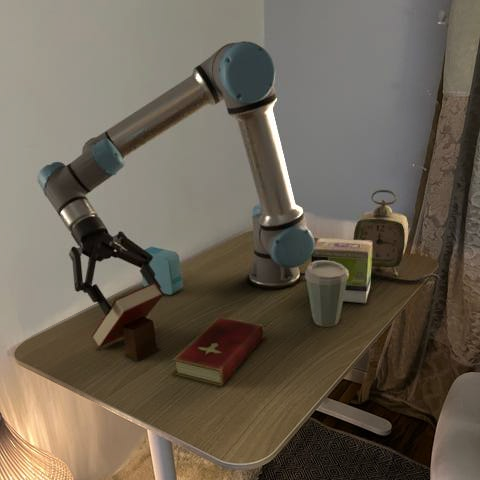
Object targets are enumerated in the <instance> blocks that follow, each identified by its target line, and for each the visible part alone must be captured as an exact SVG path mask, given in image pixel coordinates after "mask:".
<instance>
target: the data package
mask: <svg viewBox="0 0 480 480" xmlns="http://www.w3.org/2000/svg"><path fill="white" fill-rule="evenodd" d="M144 250H145V251H146V252H148V253H149V254H151V255H152V256H153V259H152V260H151V262H150V263H149V265H150V266H151V268H152V269H153V271H154V273H155V279H156V280H157V282H158V283H159V285H160V286H161V288H160V289H161V290H162V292H163V293H164V295H169V296H171V295H173V294H175V293H177V292H179V291H181V290H182V289H183V285H184V284H183V278H182V277H183V276H182V269H181V268H182V267H181V261H180V255H179V253H177V252H176V251H173V250H169V249H164V248H159V247H156V246H149V247H147V248H145V249H144ZM141 278H142V284H143V287H145V286H147V285H149V284H148V283H147V281H146V280H145V278H144V277H143V275H142V274H141Z"/></svg>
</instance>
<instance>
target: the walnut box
mask: <svg viewBox="0 0 480 480" xmlns="http://www.w3.org/2000/svg"><path fill="white" fill-rule="evenodd" d="M122 328H123V333H124V336H123V338H124V343H125V349H126V355H127V356H128V357H130V358H131V359H134V360H135V361H138V362H139V361H140V360H142V359H144V358H146V357H148V356H150V355H151V354H153V353H155V352H157V351H158V350H159V348H158V343H157V342H158V341H157V336H156V329H155V323H154V320H152V319H150V318H148V317H147V316H146V317H144V316H142V317H140V318H138V319H136V320H133V321H131V322H129V323H127V324H125V325H123V326H122Z"/></svg>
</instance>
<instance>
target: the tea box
mask: <svg viewBox="0 0 480 480" xmlns="http://www.w3.org/2000/svg"><path fill="white" fill-rule="evenodd" d="M310 257H311V259H310V261H311V262H310V263H312V262H314V261H320V260H327V261H334V262H337V263H340V264H342V265H343V266H344V267H345V268H346V269H347V270H348V273H349V277H348V279H347V283H346V288H345V294H344V299H343V302H349V303H360V304H367V301H368V300H367V299H368V296H369V293H370V290H371V281H372V276H371V273H372V266H371V264H372V241H371V240H353V239H348V238H327V237H326V238H325V237H318V239H317V240H316V242H315V247H314V251H313V253H312V255H311V256H310Z"/></svg>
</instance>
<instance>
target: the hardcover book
mask: <svg viewBox="0 0 480 480" xmlns="http://www.w3.org/2000/svg"><path fill="white" fill-rule="evenodd" d="M264 331H265V330H264V326H263V324H260V323H255V322H250V321H245V320H239V319H234V318H229V317H224V316H219V317H217V318H216V319H215V320H213V322H212V323H211V324H210V325H208V326H207V328H205V329H204V330H203V331H202V332H200V334H198V336H196V337H195V338H194V340H192V341H191V342H190V343H189V344H188V345H187V346H186V347H185V348H184V349H182V350H181V351H180V352H179V353H178V354H177V355H176V356H175V357H174V358H173V359H172V361H173V362H175V365H176V371H175V372H174V374H175V375H176V376H181V377H185V378H188V379H192V380H197V381H199V382H203V383H208V384H211V385H216V386H220V387H222V386H223V385H224V384H225V382H227V380H228V379H229V378H230V377H231V376H232V374H233V373H234V372H235V371H236V370H237V369H238V368H239V367H240V365H242V363H243V362H244V361H245V359H246V358H247V357H248V356H249V355H250V354H251V353H252V352H253V351H254V349H255V348H256V347H257V346H258V345H259V343H260V342H261V341H263V339H264V333H265V332H264Z"/></svg>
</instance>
